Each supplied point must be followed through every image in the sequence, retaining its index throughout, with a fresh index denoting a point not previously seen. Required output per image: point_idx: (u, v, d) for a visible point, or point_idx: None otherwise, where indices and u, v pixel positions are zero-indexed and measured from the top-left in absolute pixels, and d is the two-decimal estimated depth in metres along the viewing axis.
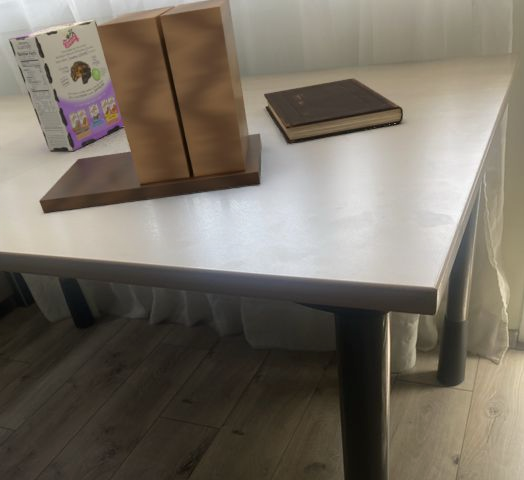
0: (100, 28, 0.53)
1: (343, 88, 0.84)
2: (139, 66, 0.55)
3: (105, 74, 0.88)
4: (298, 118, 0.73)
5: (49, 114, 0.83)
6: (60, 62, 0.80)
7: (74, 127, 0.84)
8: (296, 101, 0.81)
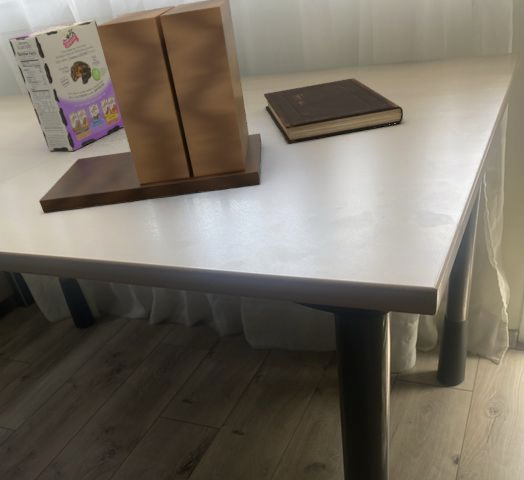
0: (100, 28, 0.53)
1: (343, 88, 0.84)
2: (139, 66, 0.55)
3: (105, 74, 0.88)
4: (298, 118, 0.73)
5: (49, 114, 0.83)
6: (60, 62, 0.80)
7: (74, 127, 0.84)
8: (296, 101, 0.81)
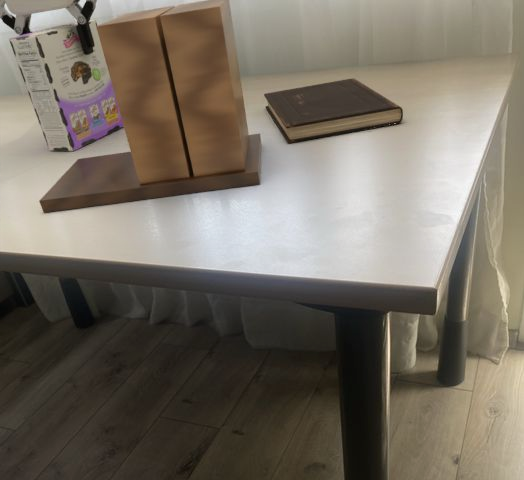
0: (100, 28, 0.53)
1: (343, 88, 0.84)
2: (139, 66, 0.55)
3: (105, 74, 0.88)
4: (298, 118, 0.73)
5: (49, 114, 0.83)
6: (60, 62, 0.80)
7: (74, 127, 0.84)
8: (296, 101, 0.81)
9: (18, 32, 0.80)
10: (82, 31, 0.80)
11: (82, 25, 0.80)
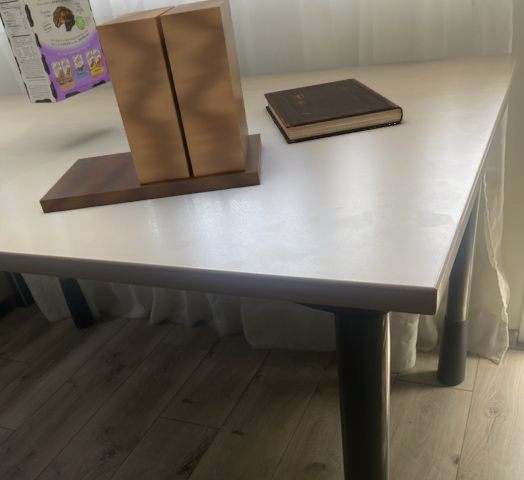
0: (100, 28, 0.53)
1: (343, 88, 0.84)
2: (139, 66, 0.55)
3: (90, 24, 0.84)
4: (298, 118, 0.73)
5: (30, 62, 0.78)
6: (42, 5, 0.75)
7: (57, 77, 0.80)
8: (296, 101, 0.81)
9: None
10: None
11: None
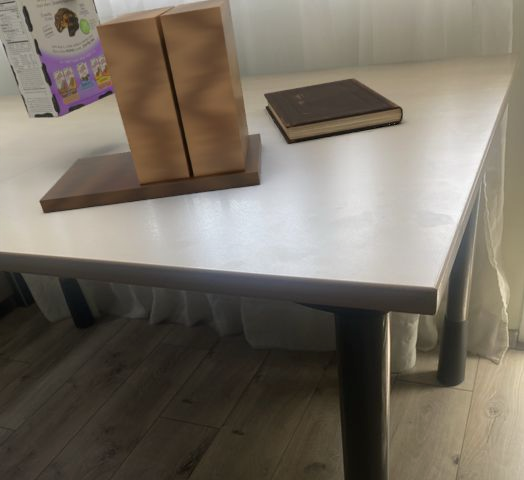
0: (100, 28, 0.53)
1: (343, 88, 0.84)
2: (139, 66, 0.55)
3: (95, 28, 0.74)
4: (298, 118, 0.73)
5: (29, 72, 0.68)
6: (42, 7, 0.66)
7: (60, 88, 0.70)
8: (296, 101, 0.81)
9: None
10: None
11: None
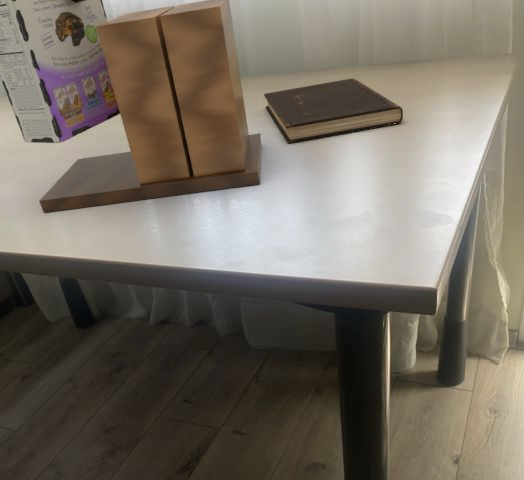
0: (100, 28, 0.53)
1: (343, 88, 0.84)
2: (139, 66, 0.55)
3: None
4: (298, 118, 0.73)
5: (24, 89, 0.57)
6: (40, 11, 0.54)
7: (62, 108, 0.58)
8: (296, 101, 0.81)
9: None
10: None
11: None
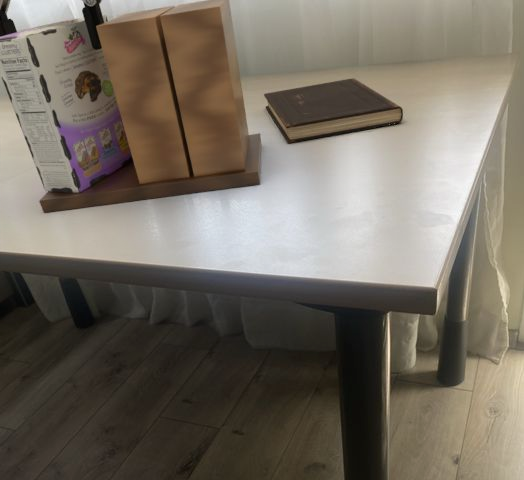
0: (100, 28, 0.53)
1: (343, 88, 0.84)
2: (139, 66, 0.55)
3: None
4: (298, 118, 0.73)
5: (45, 144, 0.60)
6: (61, 73, 0.57)
7: (80, 161, 0.62)
8: (296, 101, 0.81)
9: None
10: (91, 16, 0.57)
11: (91, 8, 0.57)
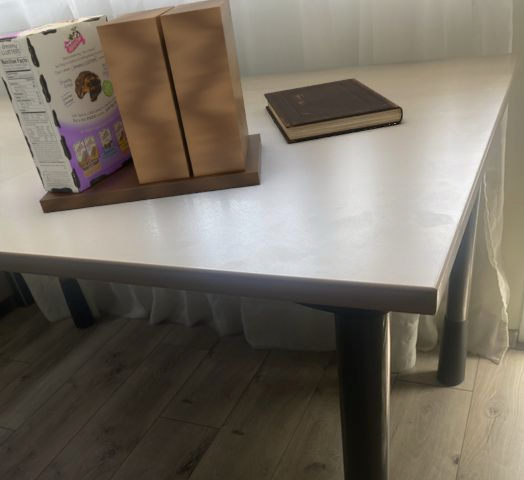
0: (100, 28, 0.53)
1: (343, 88, 0.84)
2: (139, 66, 0.55)
3: None
4: (298, 118, 0.73)
5: (45, 144, 0.60)
6: (61, 73, 0.57)
7: (80, 161, 0.62)
8: (296, 101, 0.81)
9: None
10: None
11: None
